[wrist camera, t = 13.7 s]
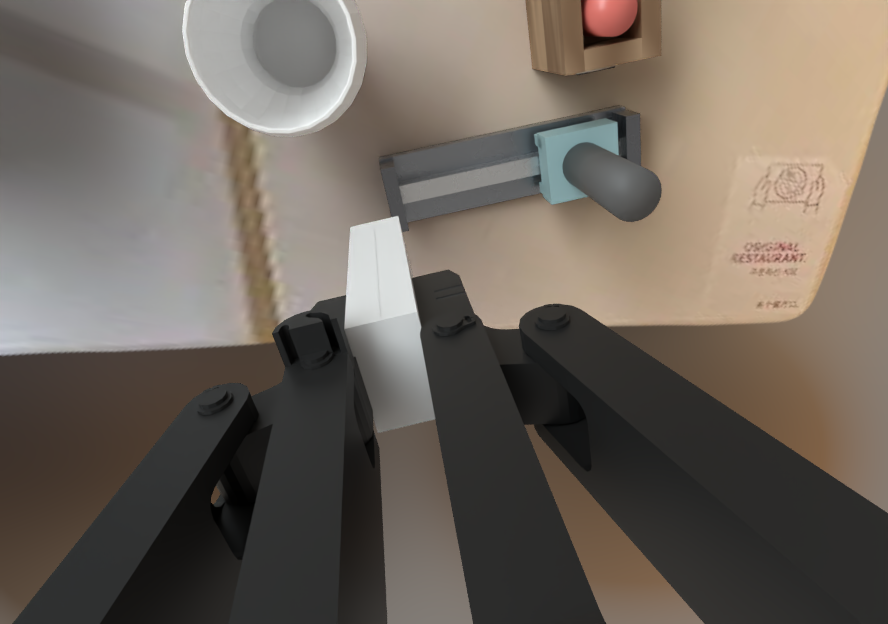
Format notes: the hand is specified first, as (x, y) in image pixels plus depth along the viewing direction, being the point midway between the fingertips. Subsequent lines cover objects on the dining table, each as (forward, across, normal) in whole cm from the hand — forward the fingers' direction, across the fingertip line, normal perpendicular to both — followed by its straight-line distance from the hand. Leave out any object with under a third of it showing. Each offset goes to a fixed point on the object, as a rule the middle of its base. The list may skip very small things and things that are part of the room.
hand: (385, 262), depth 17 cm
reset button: (+29, +18, +4) cm, 34 cm away
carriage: (+32, +16, -7) cm, 36 cm away
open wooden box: (+34, +18, +4) cm, 39 cm away
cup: (+34, -4, +6) cm, 35 cm away
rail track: (+34, +11, -7) cm, 36 cm away
